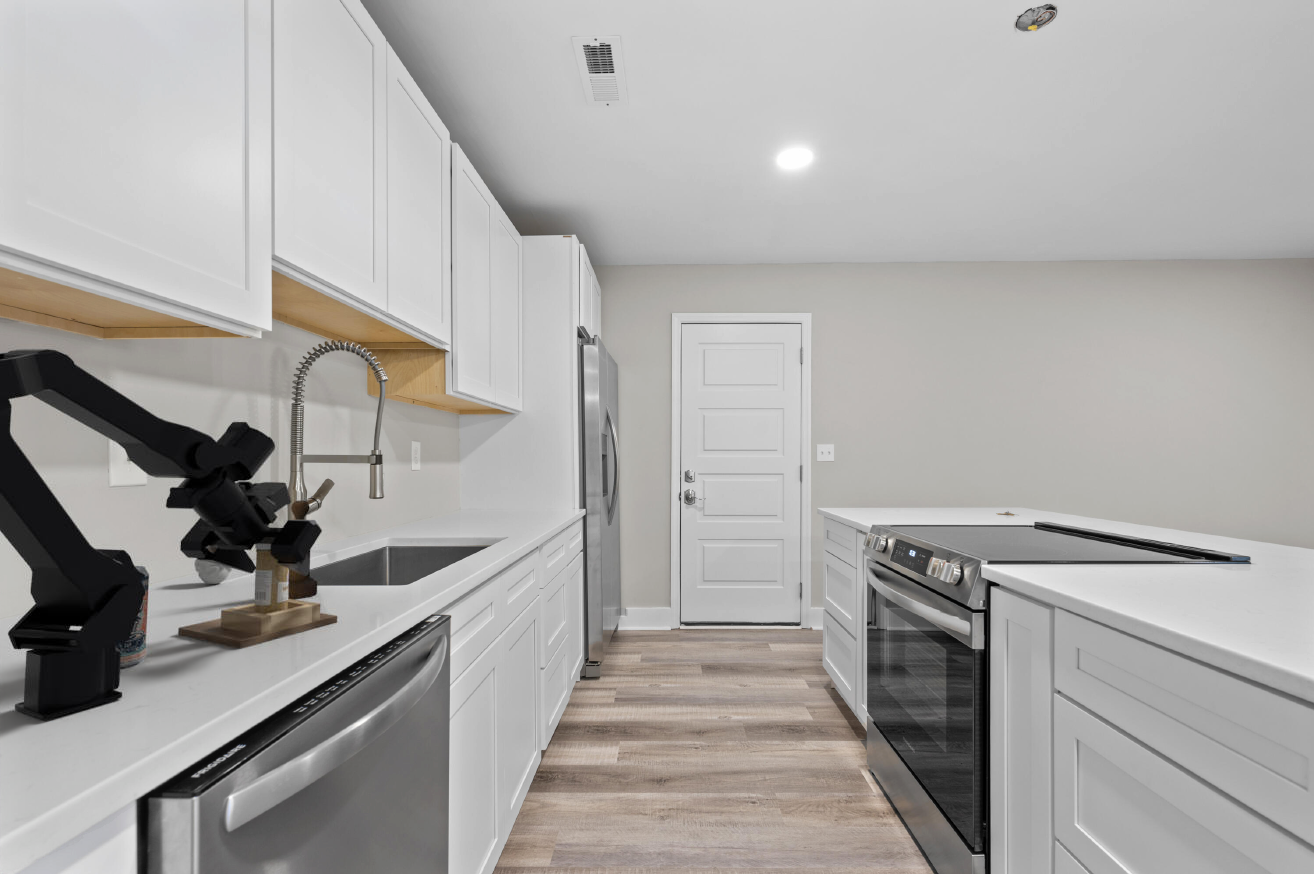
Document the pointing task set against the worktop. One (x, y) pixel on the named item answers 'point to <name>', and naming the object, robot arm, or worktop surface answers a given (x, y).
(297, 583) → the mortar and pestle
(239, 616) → the socket
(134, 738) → the worktop surface
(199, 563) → the white lumpy ball
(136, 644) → the beer can
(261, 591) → the spice jar
